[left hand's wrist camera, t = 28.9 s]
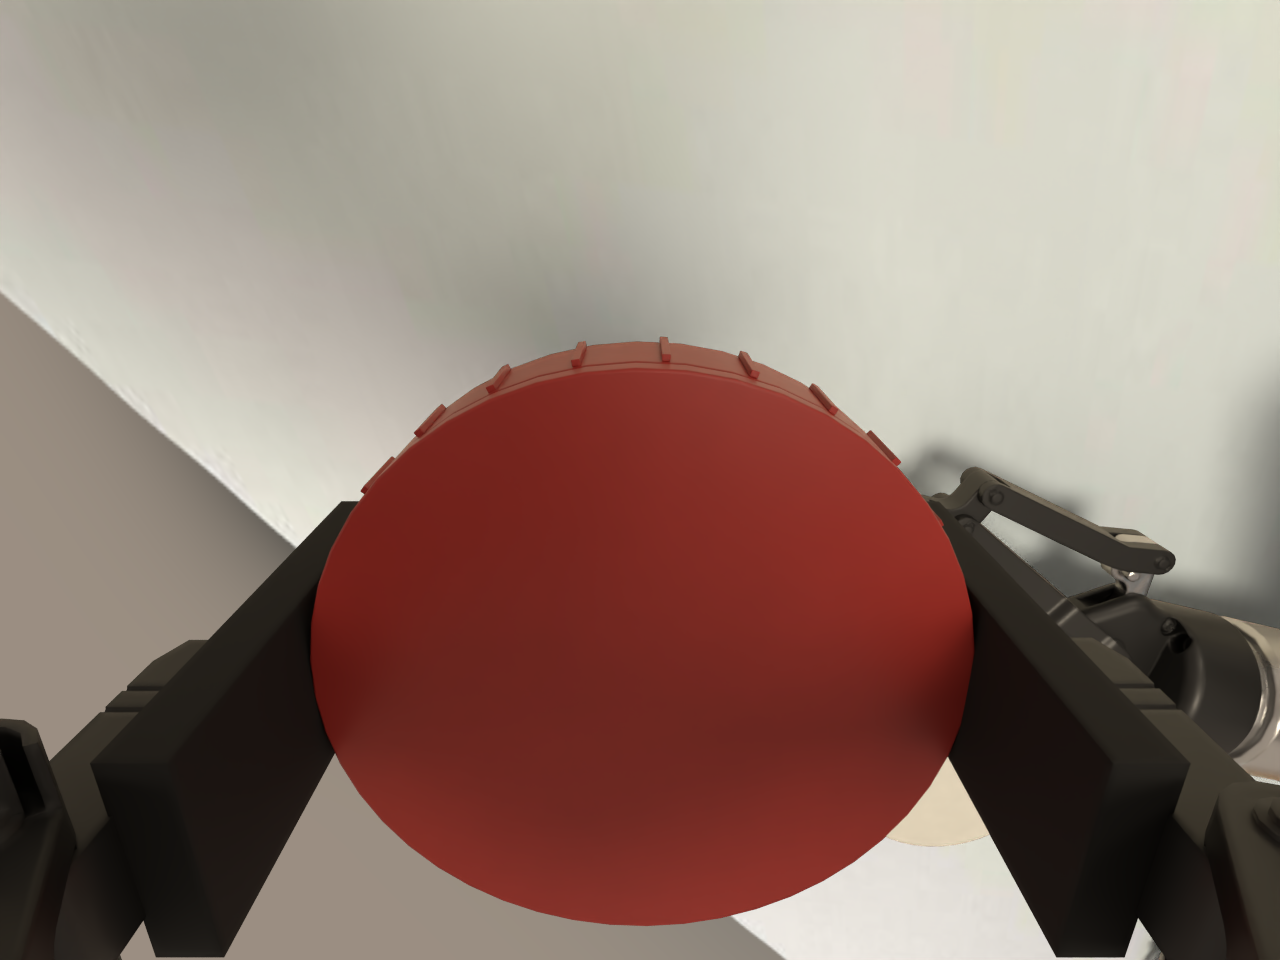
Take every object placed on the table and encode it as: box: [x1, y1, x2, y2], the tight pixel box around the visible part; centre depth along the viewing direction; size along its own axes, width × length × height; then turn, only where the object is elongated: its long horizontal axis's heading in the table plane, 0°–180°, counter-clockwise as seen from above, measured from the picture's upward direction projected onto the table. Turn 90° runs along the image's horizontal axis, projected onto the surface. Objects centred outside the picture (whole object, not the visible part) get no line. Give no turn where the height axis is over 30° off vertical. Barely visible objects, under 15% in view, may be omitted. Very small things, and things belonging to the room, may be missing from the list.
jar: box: [886, 757, 990, 846], centre depth 34 cm, size 9×9×17 cm
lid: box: [310, 337, 975, 926], centre depth 11 cm, size 9×9×2 cm
